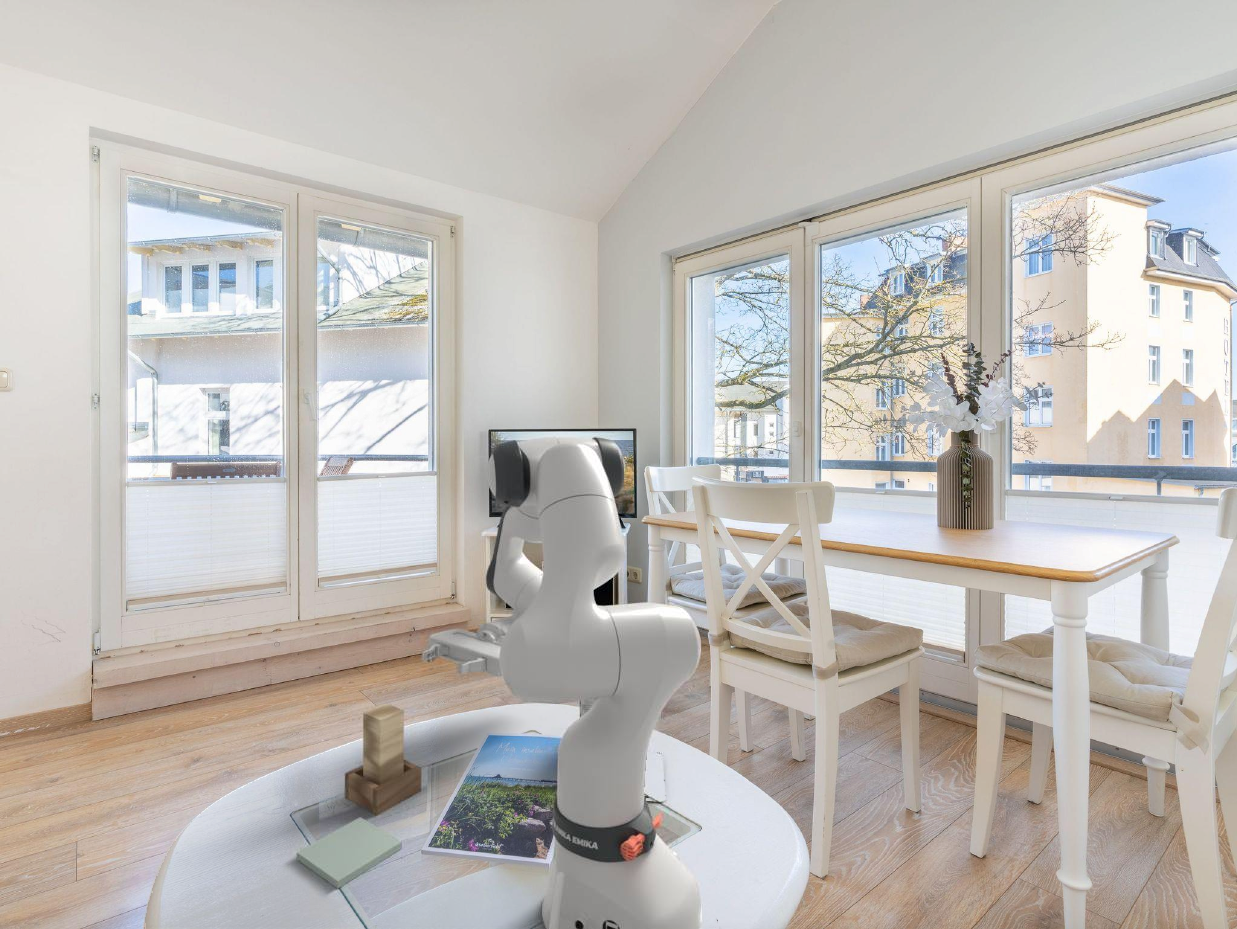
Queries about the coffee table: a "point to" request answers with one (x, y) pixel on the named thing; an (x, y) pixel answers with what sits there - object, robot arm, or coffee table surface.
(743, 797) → the coffee table surface
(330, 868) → the pad
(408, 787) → the pocket
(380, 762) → the oak block
